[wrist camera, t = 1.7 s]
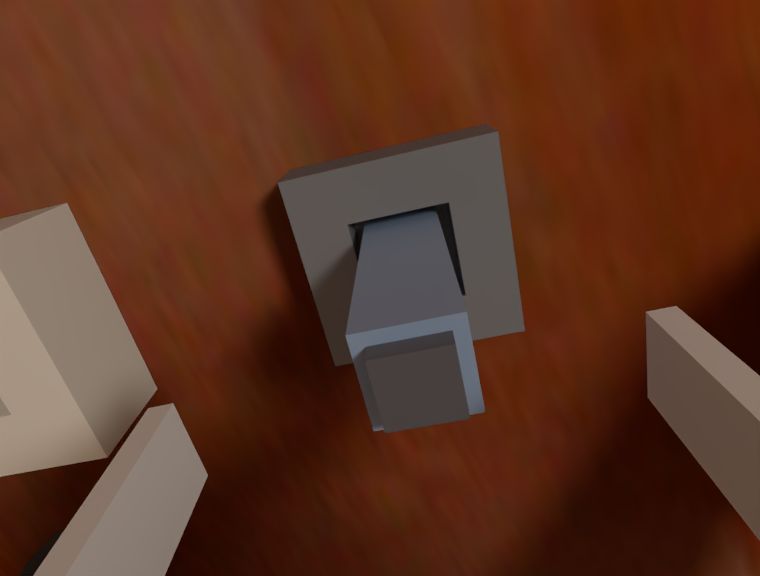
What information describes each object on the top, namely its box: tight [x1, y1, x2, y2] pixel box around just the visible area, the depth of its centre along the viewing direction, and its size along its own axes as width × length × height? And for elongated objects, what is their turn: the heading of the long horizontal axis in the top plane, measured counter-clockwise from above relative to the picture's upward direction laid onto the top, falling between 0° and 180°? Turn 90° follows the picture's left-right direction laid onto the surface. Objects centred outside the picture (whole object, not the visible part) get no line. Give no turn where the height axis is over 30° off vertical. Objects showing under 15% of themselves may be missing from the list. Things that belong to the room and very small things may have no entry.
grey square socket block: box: [278, 124, 525, 366], centre depth 26 cm, size 10×10×3 cm
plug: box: [345, 205, 485, 433], centre depth 21 cm, size 4×4×13 cm
